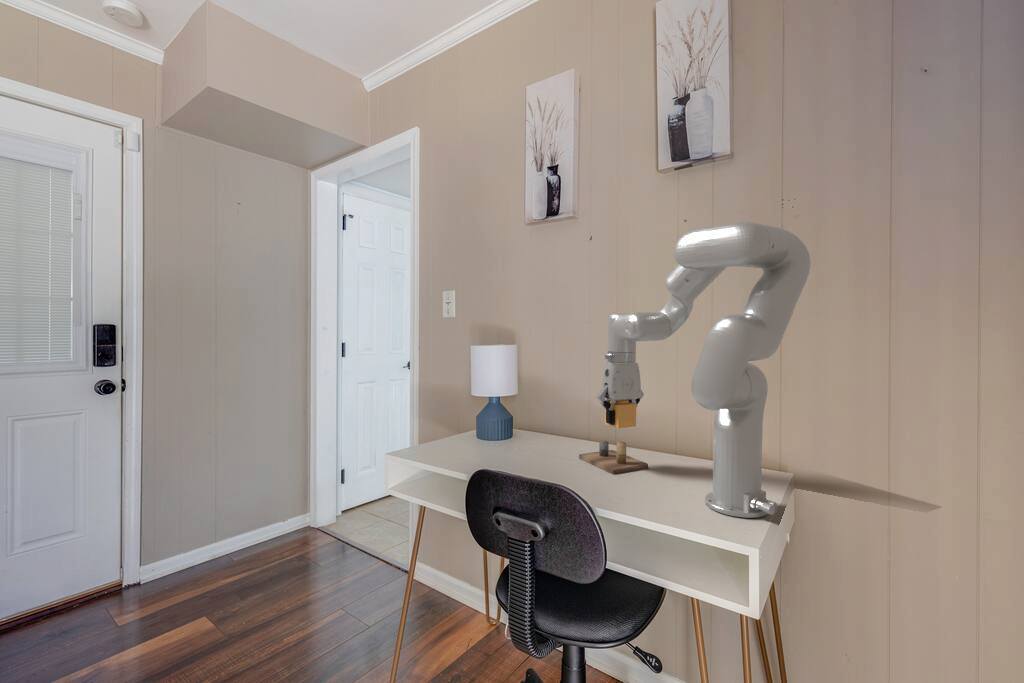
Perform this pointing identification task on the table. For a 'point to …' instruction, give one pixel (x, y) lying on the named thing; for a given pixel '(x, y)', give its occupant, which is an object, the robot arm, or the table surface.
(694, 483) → the table surface
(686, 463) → the table surface
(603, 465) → the post board
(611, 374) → the robot arm
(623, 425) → the knobbed tan cube
